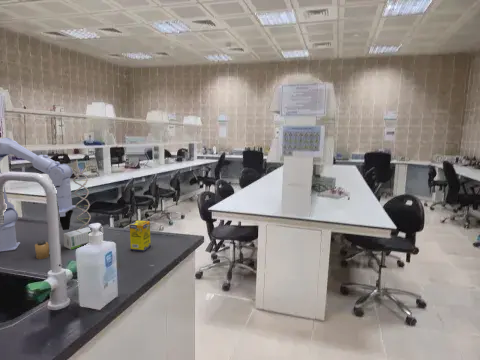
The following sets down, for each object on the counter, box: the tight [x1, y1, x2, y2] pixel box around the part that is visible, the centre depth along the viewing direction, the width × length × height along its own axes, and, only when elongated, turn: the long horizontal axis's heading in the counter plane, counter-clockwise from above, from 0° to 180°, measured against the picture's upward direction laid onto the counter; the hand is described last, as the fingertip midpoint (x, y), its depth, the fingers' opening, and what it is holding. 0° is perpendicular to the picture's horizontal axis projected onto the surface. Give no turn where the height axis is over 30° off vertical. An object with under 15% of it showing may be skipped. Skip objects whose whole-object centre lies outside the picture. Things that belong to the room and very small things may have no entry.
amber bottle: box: [34, 239, 50, 260], centre depth 118 cm, size 4×4×6 cm
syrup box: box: [62, 226, 104, 250], centre depth 131 cm, size 6×6×14 cm
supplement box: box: [129, 219, 152, 253], centre depth 126 cm, size 6×6×11 cm
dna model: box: [72, 167, 92, 230], centre depth 144 cm, size 7×6×30 cm
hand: (66, 229), depth 124 cm, fingers closed
